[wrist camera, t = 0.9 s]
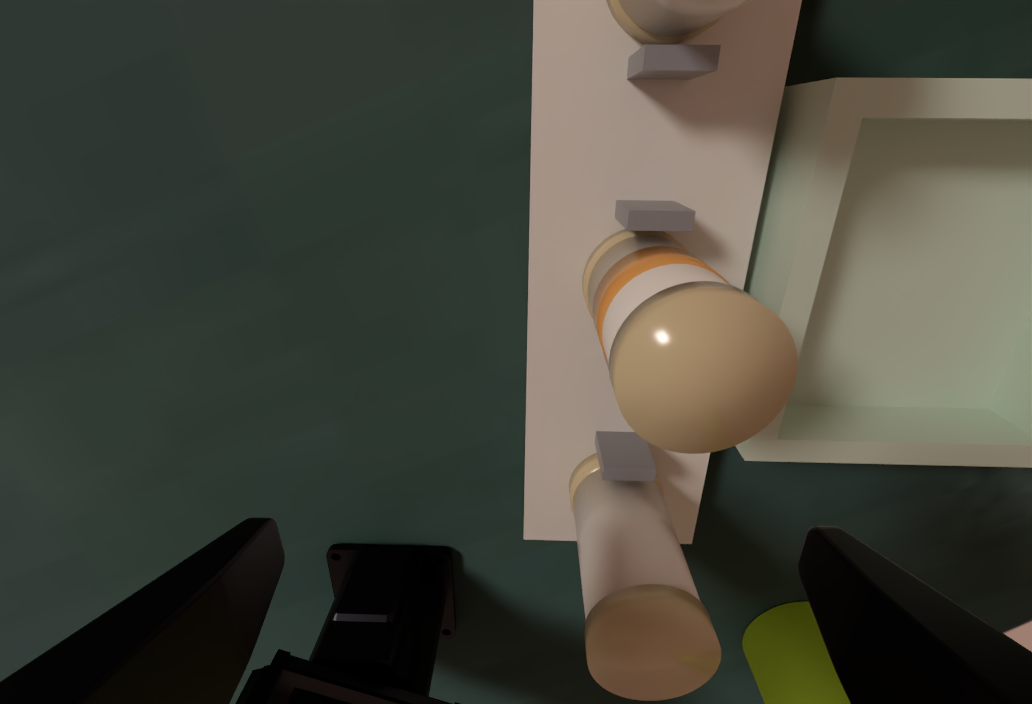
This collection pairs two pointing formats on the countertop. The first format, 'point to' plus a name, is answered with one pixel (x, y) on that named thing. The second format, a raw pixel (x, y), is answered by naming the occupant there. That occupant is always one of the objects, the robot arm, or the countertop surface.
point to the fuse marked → (685, 345)
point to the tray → (900, 271)
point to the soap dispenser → (791, 658)
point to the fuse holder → (633, 215)
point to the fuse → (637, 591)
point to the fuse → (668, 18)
